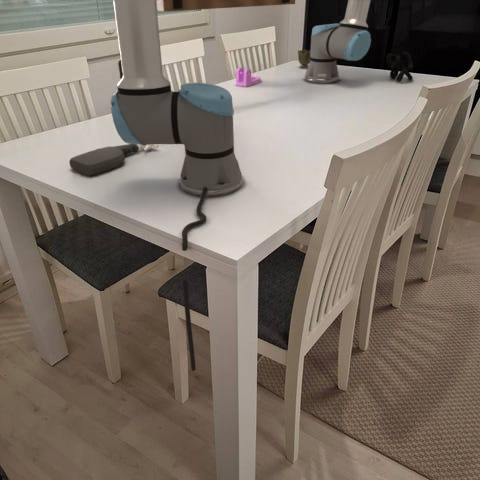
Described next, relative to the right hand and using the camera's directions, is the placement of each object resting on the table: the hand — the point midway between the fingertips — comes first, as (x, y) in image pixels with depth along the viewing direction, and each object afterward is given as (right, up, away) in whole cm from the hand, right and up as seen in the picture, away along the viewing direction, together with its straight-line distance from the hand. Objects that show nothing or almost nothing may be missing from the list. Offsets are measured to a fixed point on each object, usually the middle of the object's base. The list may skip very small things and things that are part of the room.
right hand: (281, 2), depth 156 cm
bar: (-17, -7, -10) cm, 21 cm away
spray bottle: (-49, -61, -31) cm, 84 cm away
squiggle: (+58, -11, +45) cm, 74 cm away
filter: (-52, -40, +3) cm, 66 cm away
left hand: (-35, -12, -20) cm, 42 cm away
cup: (+19, +5, +72) cm, 74 cm away
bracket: (-10, -13, +45) cm, 48 cm away
